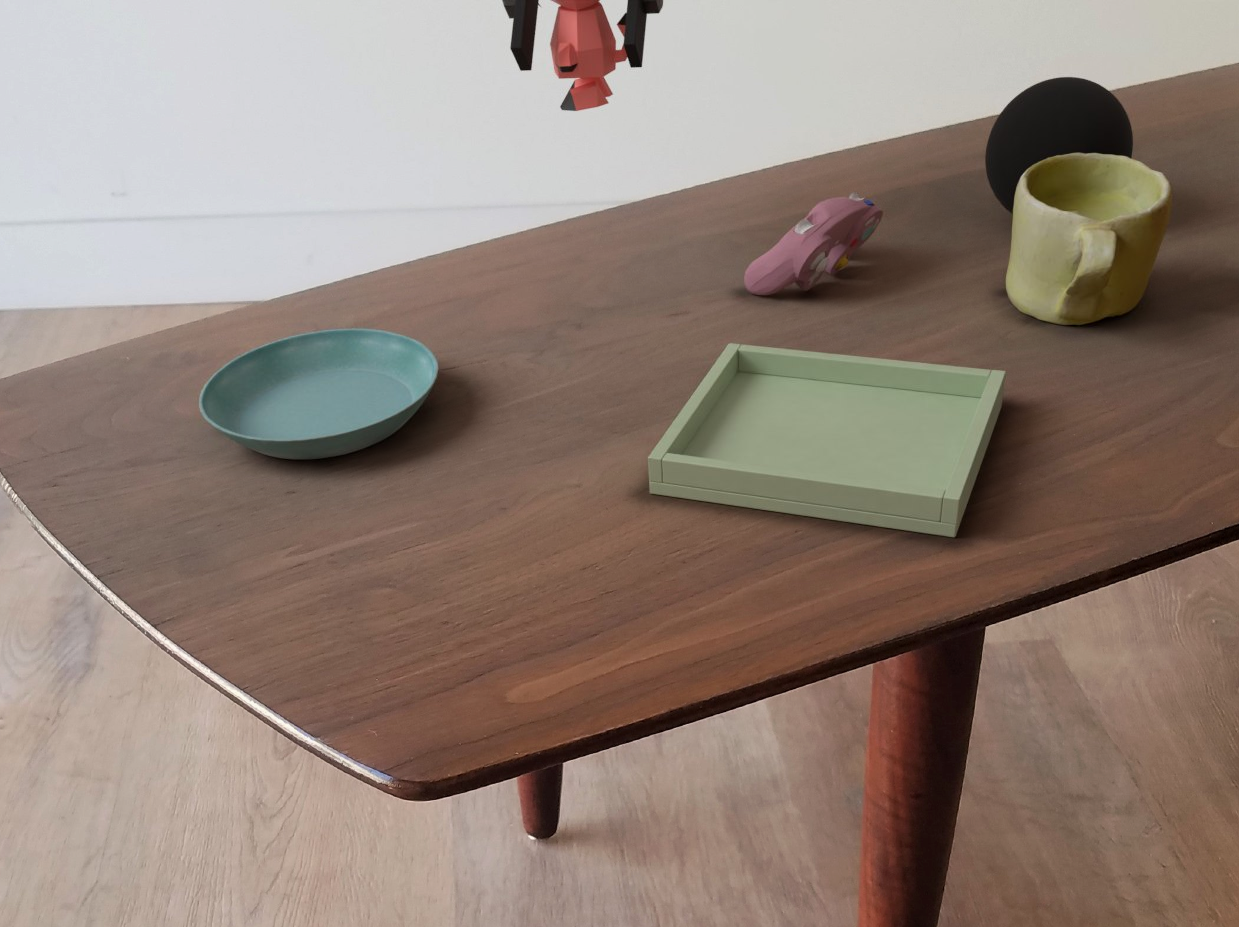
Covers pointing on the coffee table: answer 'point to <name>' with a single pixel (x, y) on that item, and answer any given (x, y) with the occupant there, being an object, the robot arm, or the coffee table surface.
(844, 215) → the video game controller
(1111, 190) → the mug
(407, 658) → the coffee table surface
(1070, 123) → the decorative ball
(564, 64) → the cat figurine
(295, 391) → the saucer
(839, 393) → the sage green tray
